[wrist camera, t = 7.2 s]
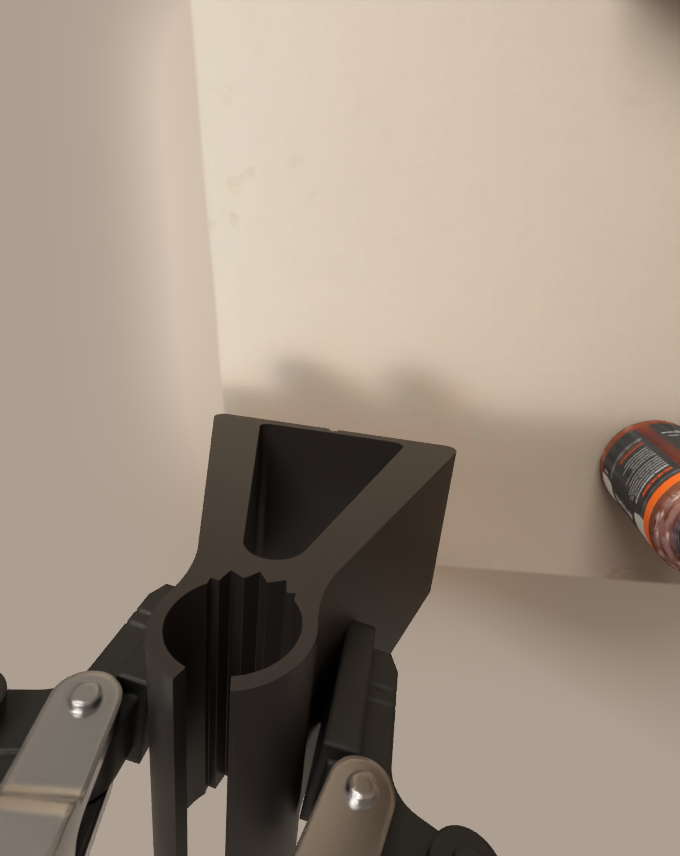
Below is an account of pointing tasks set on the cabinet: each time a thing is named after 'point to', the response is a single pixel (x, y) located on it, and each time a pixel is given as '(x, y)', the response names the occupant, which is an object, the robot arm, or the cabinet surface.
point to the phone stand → (280, 613)
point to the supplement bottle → (648, 482)
